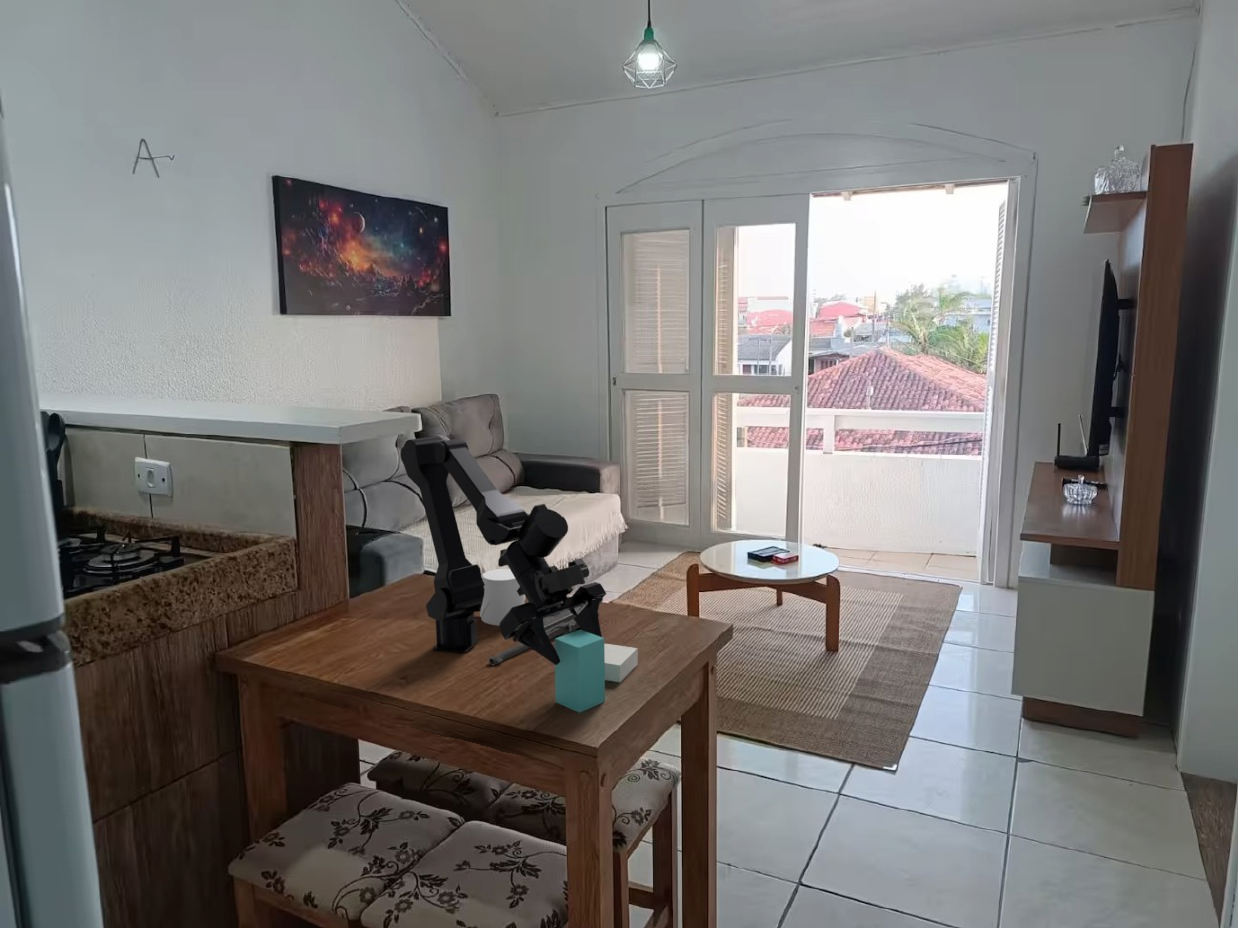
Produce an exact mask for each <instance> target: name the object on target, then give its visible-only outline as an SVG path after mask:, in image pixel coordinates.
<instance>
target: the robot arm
mask: <svg viewBox="0 0 1238 928" xmlns="http://www.w3.org/2000/svg"><path fill="white" fill-rule="evenodd" d="M400 459H401V463H402V465H403V466H404V467H403V468H404V470H405V473H406V475H407V477H408V478H409V479H410V480H411V481H412V482H413V484H415V486H417V487H418V488H419V490H420V494H421V499H422V503H423V507H424V511H425V514H426V515H425V516H426V520H427V524H428V527H429V531H430V536H431V539H432V543H433V547H434V552H435V556H436V559H437V560H436V561H437V565H438V566H437V569H436V573H435V577H434V578H433V585H434V593H433V595H432V596H431V598H430V599H429V600H428V602H427V603H426V605H425V609H426V612H427V616H428V617H429V618H431V619H434V620H435V637H436V640H435V641H436V643H435V645H434V646H432V651H438V652H439V651H440V652H449V653H458V654H465V653H467V652H468V651H469V650H470V649H471V648H472V647H474V646H475V645H476V644H477V643H478V642H479V638H478V631H477V627H478V626H477V620H475V616H474V615H475V613H476V612H477V613H480V611H481V606H482V602H483V597H484V592H485V589H484V586H485V584H484V582H483V580H482V573H481V568H480V566H479V565H478V564H477V563H476V564H472V563H471V562H470V560H469V559H467V558H466V554H465V550H464V547H463V546H464V545H463V541H462V537H461V534H460V530H459V527H458V522H457V519H456V514H455V510H454V507H453V502H452V498H451V495H450V491H449V487H448V483H447V482H448V478H449V475H450V476H451V477H452V478H453V480H454V482H455V483H456V485H457V486H458V488H460V490H461V491H462V493H463V494H464V495H465V497H466V498H467V500H468V501H469V502H470V504H471V506H472V507H473V509H474V510H475V512H476V516H475V517H476V522H475V524H476V525H477V527H478V530H479V531H480V533H481V535H482V537H483V539H484V540H485V542H486V543H487V544H488V545H490V546H497V545H498V546H499V545H503V544H507V543H510V544H509V545H508V546H507V548H504V549H500V551H499V554H500V555H499V558H498V560H497V562H498V563H497V564H498V565H497V566H498V567H499V568H502V567H505V566H508V569H510V570H511V572H512V573H513V575H514V577H515V579H516V580H517V582H518V584H519V586H520V587H519V589H518V590H517V592H518V594H519V596H521V595H525V599H526V600H527V601H528V602H526V603H525V602H524V604H522V605H518V606H515V607H512V608H511V609H510V611H509V612H508V613H507V614H506V616H505V617H504V618H503V619H502V620H501V622H500V626H499V632H500V634H501V635H502V637H503V639H504V640H505V641H507V640H511V639H512V641H513V642H514V643H517V642H519V644H520V643H522V644H524V645H526V646H527V647H529V649H531V650H533V651H534V652H536V653H537V654H539V655H540V656H542V657H543V658H545V659H546V660H548V661H549V662H550V663H552V664H553V665H554V666H555V665H558V664H559V663H560V658H559V656H558V654H557V652H556V650H555V645H553V642H552V641H551V639H549V637H548V635H547V634H546V632H545V630H544V623H543V618H546V617H549V616H552V615H555V614H559V613H562V612H565V611H568V610H570V612H571V613H572V614H574V615H576V617H575V618H574V620H575V622H576V623H577V624H578V625H579V628H580V630H583V631H586V632H589V633H591V634H594V635H597V636H600V637H603V636H602V631H601V626H600V620H599V619H600V618H599V617H598V613H599V609H600V608H599V607H600V604H601V603H602V602H603V601H604V597H605V596H606V595H607V592H606V591H605V588H604V587H603V585H602V584H601V583H600V582H596V581H595V582H591V583H587V584H586V581H585V579H586V578H587V577H589V576H590V570H589V566H588V565H587V564H586V562H585V561H584V559H583V558H582V557H581V558H576V559H574V560H572V561H569V562H568V567H564V568H560V569H559V568H558V567H557V566H556V565H552V566H550V565H549V563H548V562H547V560H546V559H545V558H547V557H549V556H550V555H551V554H552V553H553V552H554V550H555V549H556V548H557V546H558V545H559V544H560V543H561V541H562V540H563V539H564V538H565V536H566V535H567V533H568V532H569V524H568V522H567V520H566V518H565V517H564V516H563V515H561V514H560V513H558V512H557V511H555V510H553V509H550V508H548V507H547V505H546V504H545V503H541V504H537V505H534V506H533V507H532V509H531V511H530V513H527V512H526V510H525V509H524V508H523V507H522V506H521V505H520V504H519V503H518V502H517V501H515V500H514V499H513V498H511V497H509V496H507V495H505V494H503V493H502V492H500V490H498V488H497V487H496V486H495V485H494V483H493V482H492V480H491V479H490V478H489V477H488V475H487V474H486V472H485V471H484V470H483V469H482V467H481V466H480V464H479V462H478V461H477V460H476V459H475V458H474V456H473V455H472V453H471V452H470V451H469V447H468V444H467V442H466V441H465V440H463V439H460V438H457V439H450V440H449V439H447V440H446V439H443V437H440V436H439V435H437V436H430V437H429V436H428V437H421V438H413V439H407V440H406V441H405V442H404V445H403V447H401V449H400ZM578 585H581V586H579V587H578V589H577V590H576V591H575V592H574V593H572V592H573V591H574V589H573V587H575V586H578ZM571 593H572V595H571V596H570V597H568V595H570V594H571ZM560 606H561V607H560Z"/></svg>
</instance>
